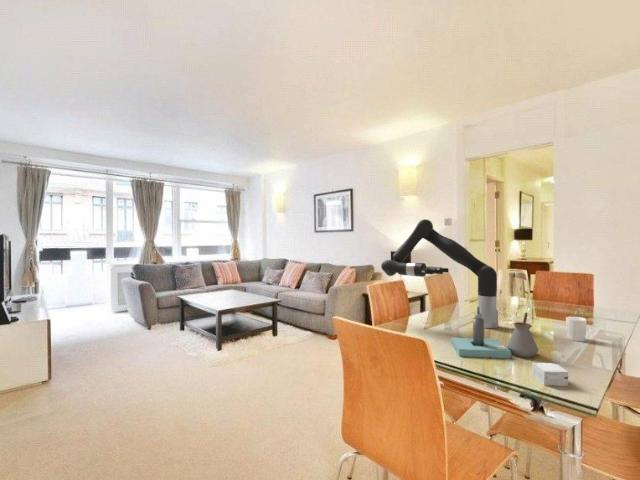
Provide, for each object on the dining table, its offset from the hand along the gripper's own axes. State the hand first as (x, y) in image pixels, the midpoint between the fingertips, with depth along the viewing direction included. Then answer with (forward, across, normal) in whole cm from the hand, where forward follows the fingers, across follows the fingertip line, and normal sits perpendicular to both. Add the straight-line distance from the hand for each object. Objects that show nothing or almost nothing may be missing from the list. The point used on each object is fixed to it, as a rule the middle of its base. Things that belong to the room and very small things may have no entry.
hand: (445, 271), depth 175 cm
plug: (+21, -20, +32) cm, 43 cm away
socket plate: (+21, -20, +32) cm, 43 cm away
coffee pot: (+36, -9, +32) cm, 49 cm away
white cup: (+54, +24, +32) cm, 67 cm away
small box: (+48, -38, +32) cm, 69 cm away
